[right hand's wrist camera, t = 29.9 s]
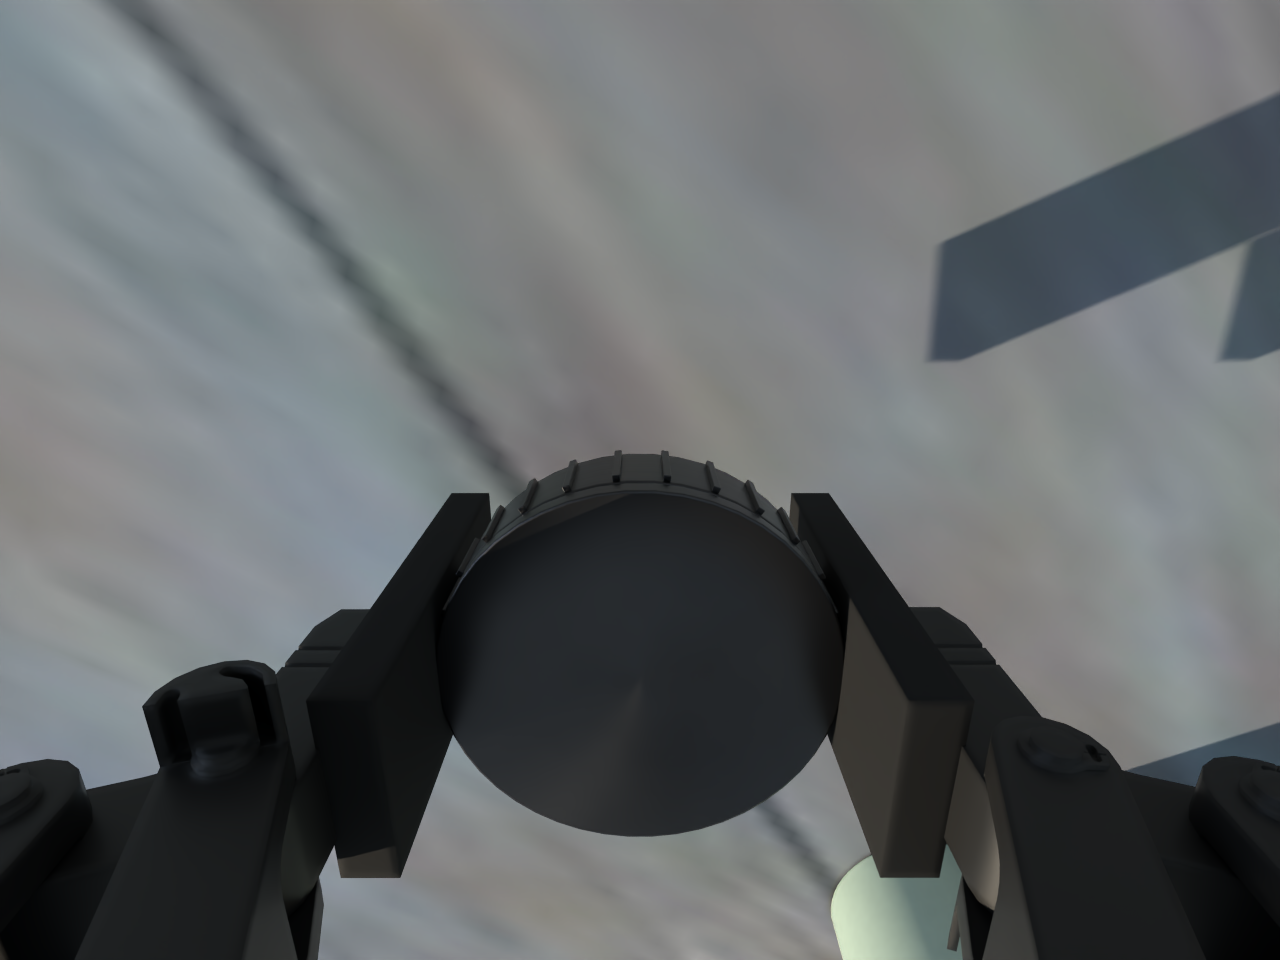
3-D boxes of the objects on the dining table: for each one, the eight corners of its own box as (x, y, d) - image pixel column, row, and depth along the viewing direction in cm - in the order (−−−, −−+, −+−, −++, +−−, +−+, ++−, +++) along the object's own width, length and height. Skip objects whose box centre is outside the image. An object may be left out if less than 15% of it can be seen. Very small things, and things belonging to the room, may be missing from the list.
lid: (874, 690, 13) (908, 758, 11) (566, 810, 14) (556, 889, 12) (734, 381, 11) (751, 409, 9) (386, 546, 12) (345, 598, 10)
